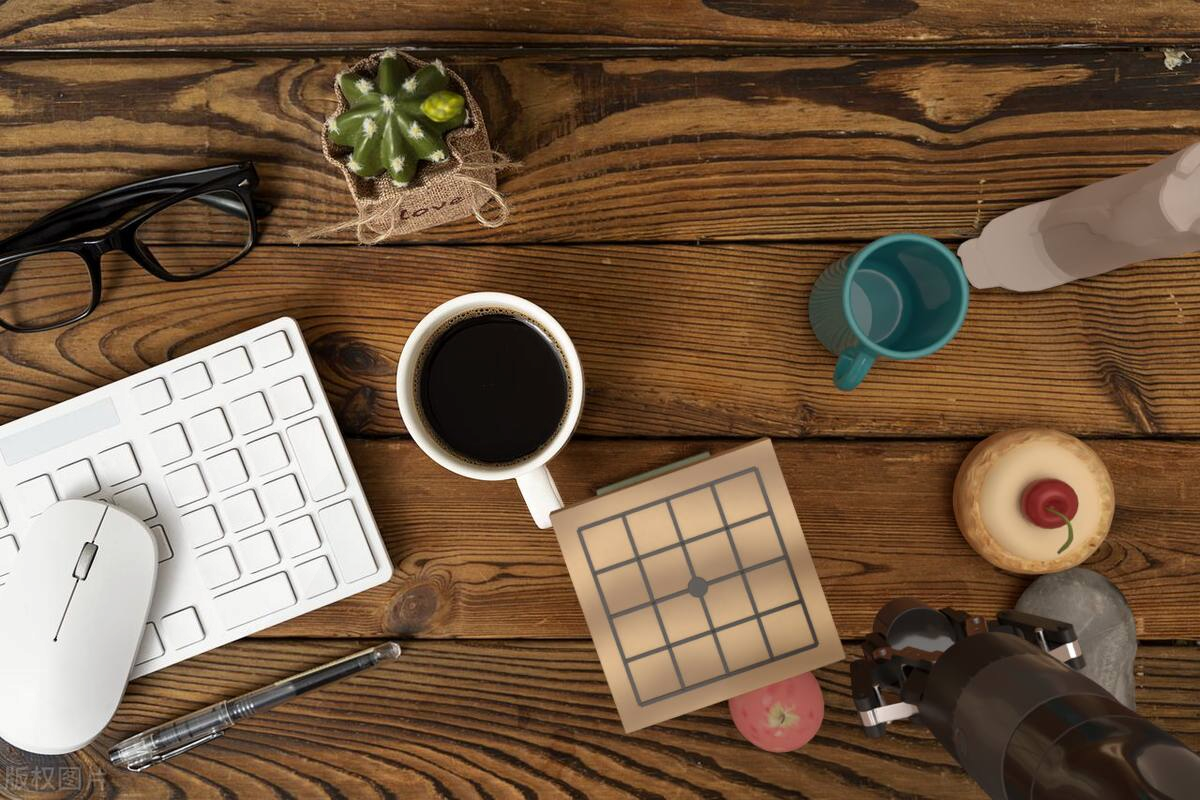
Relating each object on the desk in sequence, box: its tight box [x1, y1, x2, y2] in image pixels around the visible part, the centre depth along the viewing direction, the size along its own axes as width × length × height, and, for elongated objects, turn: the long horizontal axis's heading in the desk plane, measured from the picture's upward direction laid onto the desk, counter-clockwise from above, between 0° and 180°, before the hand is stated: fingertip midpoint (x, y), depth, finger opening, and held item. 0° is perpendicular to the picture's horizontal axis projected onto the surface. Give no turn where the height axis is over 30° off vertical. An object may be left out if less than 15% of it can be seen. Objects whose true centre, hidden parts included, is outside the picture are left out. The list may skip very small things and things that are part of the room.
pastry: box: [952, 427, 1116, 575], centre depth 68 cm, size 12×12×9 cm
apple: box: [728, 670, 825, 754], centre depth 69 cm, size 7×7×8 cm
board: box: [548, 436, 847, 735], centre depth 62 cm, size 14×14×22 cm
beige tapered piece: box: [957, 140, 1200, 293], centre depth 62 cm, size 7×14×20 cm, turn 106°
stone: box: [1013, 566, 1138, 713], centre depth 71 cm, size 11×4×15 cm
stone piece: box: [872, 596, 957, 652], centre depth 59 cm, size 5×5×3 cm
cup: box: [807, 232, 970, 393], centre depth 66 cm, size 9×12×11 cm
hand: (911, 633), depth 60 cm, fingers closed on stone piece, 4 cm apart
